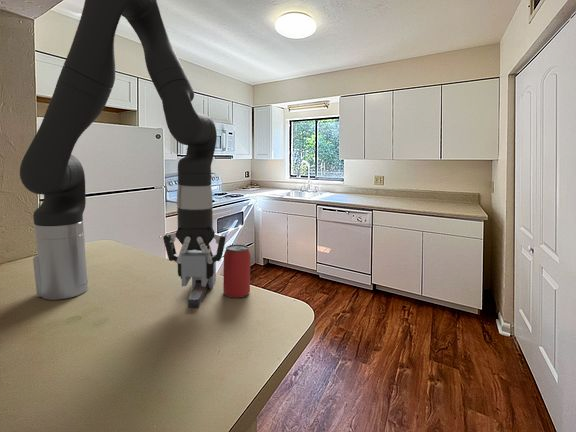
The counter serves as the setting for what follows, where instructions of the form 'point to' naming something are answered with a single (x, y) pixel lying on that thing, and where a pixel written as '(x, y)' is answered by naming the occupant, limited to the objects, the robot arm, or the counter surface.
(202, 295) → the rail
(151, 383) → the counter surface
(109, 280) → the counter surface
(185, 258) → the grey block
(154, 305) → the counter surface
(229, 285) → the beer can
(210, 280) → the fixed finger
